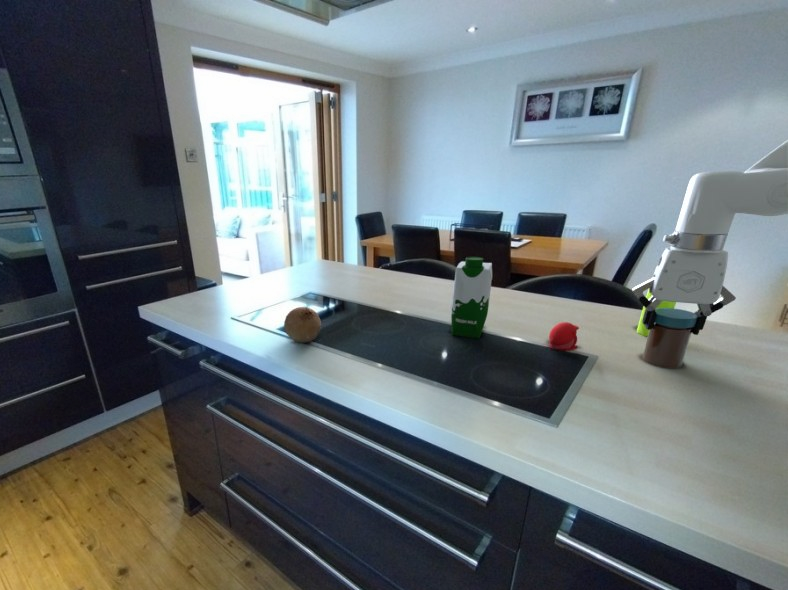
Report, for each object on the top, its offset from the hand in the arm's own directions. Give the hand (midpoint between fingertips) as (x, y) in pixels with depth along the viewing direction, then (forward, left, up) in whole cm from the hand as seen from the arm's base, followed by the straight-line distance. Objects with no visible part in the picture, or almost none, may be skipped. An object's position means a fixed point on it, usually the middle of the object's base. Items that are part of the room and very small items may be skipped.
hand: (670, 329), depth 80 cm
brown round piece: (+78, +17, -8) cm, 80 cm away
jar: (0, 0, -8) cm, 8 cm away
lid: (0, 0, +3) cm, 3 cm away
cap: (+18, -2, -8) cm, 20 cm away
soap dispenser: (-3, -20, -8) cm, 22 cm away
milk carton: (+40, -4, -8) cm, 41 cm away
